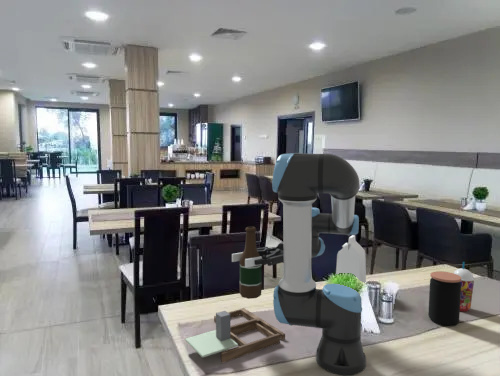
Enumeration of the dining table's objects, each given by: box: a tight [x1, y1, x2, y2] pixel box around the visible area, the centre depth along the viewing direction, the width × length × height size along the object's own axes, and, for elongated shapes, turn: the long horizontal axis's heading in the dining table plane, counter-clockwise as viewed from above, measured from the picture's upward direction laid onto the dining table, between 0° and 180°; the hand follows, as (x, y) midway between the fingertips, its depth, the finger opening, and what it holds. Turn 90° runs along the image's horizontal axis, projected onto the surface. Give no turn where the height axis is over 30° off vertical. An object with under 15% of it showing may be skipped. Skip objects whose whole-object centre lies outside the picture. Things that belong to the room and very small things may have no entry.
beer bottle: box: [239, 226, 263, 300], centre depth 132 cm, size 8×8×24 cm
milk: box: [335, 235, 367, 283], centre depth 178 cm, size 12×12×26 cm
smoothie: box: [453, 261, 476, 312], centre depth 158 cm, size 8×8×20 cm
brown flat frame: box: [213, 307, 286, 364], centre depth 136 cm, size 27×26×3 cm
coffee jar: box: [427, 270, 461, 327], centre depth 147 cm, size 11×11×18 cm
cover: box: [184, 310, 239, 358], centre depth 123 cm, size 13×13×9 cm
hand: (238, 260), depth 129 cm, fingers closed on beer bottle, 7 cm apart
